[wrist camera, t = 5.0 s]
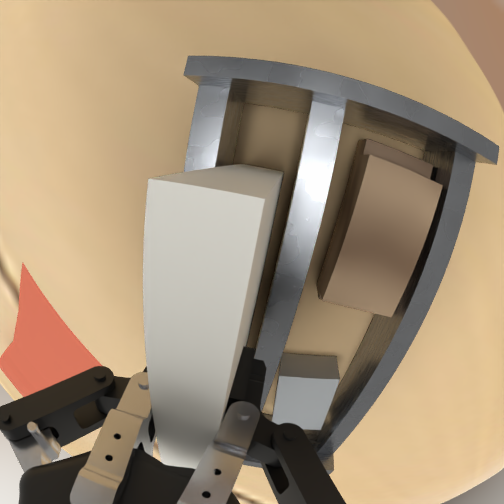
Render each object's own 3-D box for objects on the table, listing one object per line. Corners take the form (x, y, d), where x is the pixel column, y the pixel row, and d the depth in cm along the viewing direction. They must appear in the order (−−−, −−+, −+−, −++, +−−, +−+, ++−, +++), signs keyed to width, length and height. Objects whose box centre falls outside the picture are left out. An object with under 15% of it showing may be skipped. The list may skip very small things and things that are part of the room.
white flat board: (242, 163, 16) (148, 178, 5) (284, 171, 15) (264, 198, 5) (208, 381, 22) (167, 486, 12) (236, 388, 22) (204, 498, 12)
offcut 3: (359, 154, 13) (369, 154, 12) (426, 181, 13) (442, 185, 11) (319, 284, 16) (321, 300, 14) (382, 301, 16) (391, 317, 14)
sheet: (78, 427, 35) (-6, 329, 31) (173, 384, 29) (43, 226, 25) (66, 445, 30) (-23, 342, 26) (159, 416, 24) (11, 237, 19)
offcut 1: (281, 350, 21) (279, 375, 18) (336, 354, 21) (339, 379, 18) (274, 403, 23) (271, 426, 21) (319, 406, 23) (320, 429, 20)
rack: (221, 86, 15) (188, 55, 9) (445, 145, 14) (499, 146, 8) (184, 399, 25) (165, 442, 19) (328, 428, 24) (329, 474, 18)
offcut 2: (356, 141, 15) (367, 138, 13) (416, 163, 15) (433, 165, 13) (316, 281, 19) (318, 298, 17) (372, 295, 19) (380, 313, 16)
